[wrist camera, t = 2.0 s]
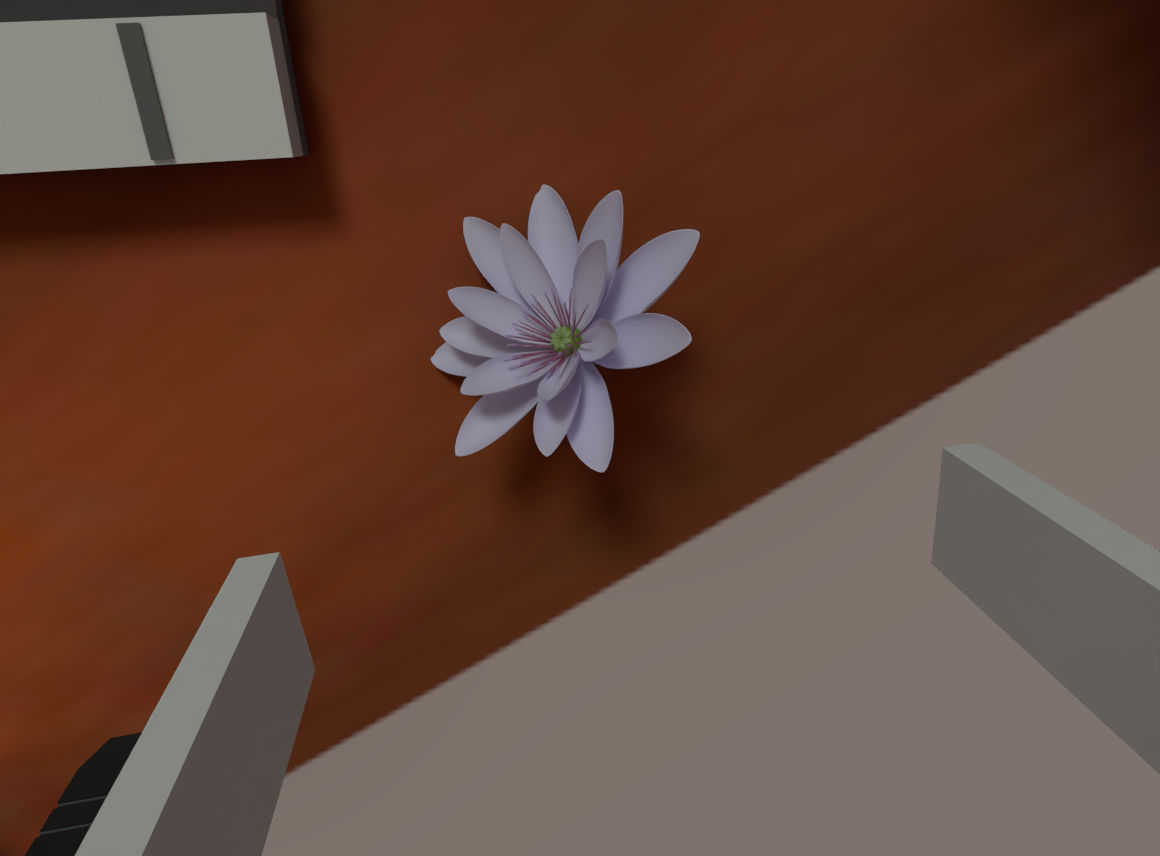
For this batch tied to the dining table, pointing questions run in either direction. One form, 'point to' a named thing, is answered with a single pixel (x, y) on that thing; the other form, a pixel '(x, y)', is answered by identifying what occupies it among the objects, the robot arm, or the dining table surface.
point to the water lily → (558, 324)
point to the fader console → (145, 84)
